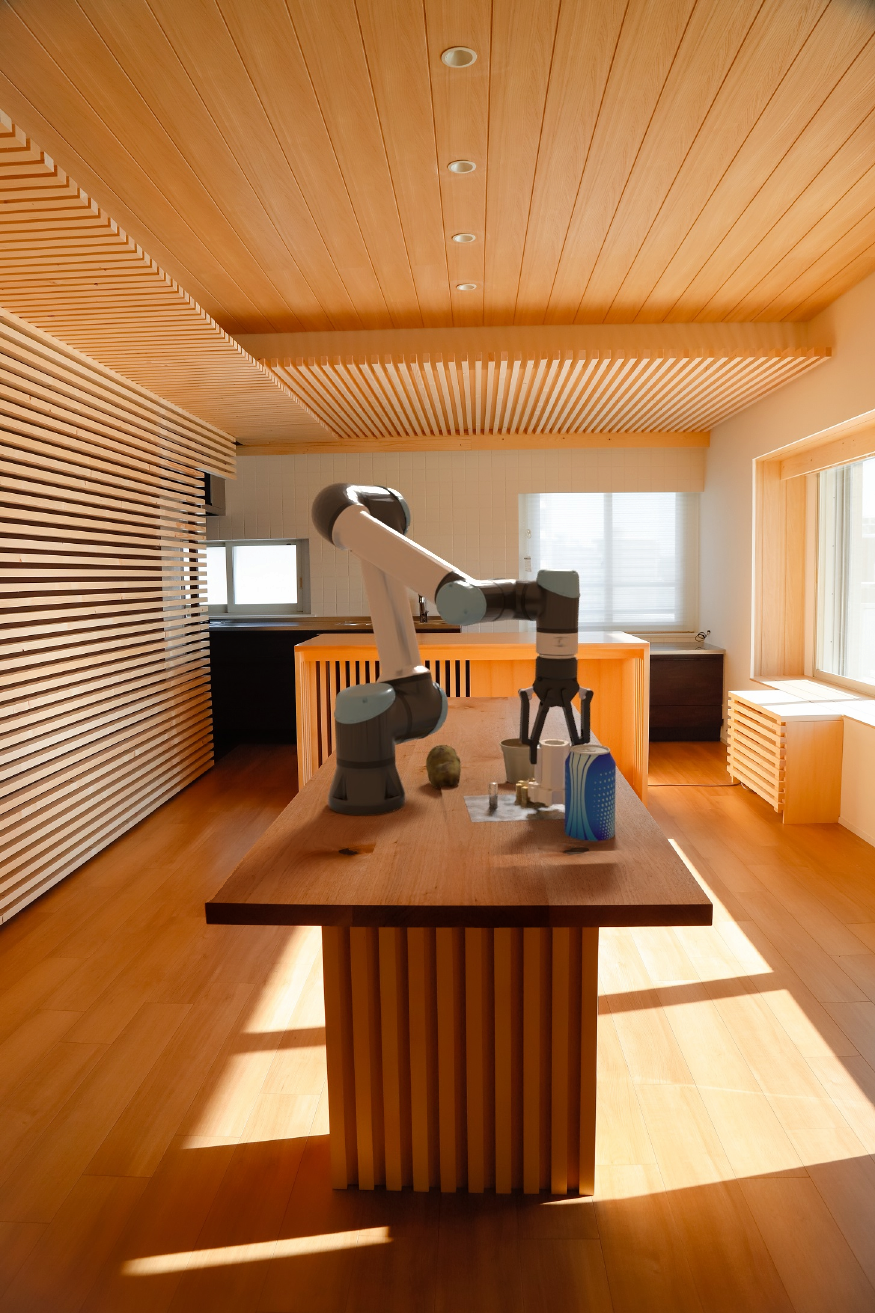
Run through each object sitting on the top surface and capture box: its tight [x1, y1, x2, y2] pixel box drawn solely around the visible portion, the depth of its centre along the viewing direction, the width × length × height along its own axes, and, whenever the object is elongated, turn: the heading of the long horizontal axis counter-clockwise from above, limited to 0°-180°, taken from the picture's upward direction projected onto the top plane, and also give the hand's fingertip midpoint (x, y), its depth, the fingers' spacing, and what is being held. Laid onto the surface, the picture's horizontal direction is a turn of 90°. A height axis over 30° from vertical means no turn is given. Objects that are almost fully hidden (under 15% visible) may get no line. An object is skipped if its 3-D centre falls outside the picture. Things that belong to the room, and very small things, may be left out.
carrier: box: [462, 778, 565, 823], centre depth 151 cm, size 22×16×6 cm
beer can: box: [564, 743, 617, 842], centre depth 136 cm, size 8×8×16 cm
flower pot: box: [498, 737, 541, 785], centre depth 174 cm, size 9×9×9 cm
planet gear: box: [528, 738, 571, 806], centre depth 147 cm, size 9×9×10 cm
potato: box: [425, 744, 462, 790], centre depth 171 cm, size 8×13×8 cm, turn 170°
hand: (553, 780), depth 147 cm, fingers closed on planet gear, 5 cm apart
